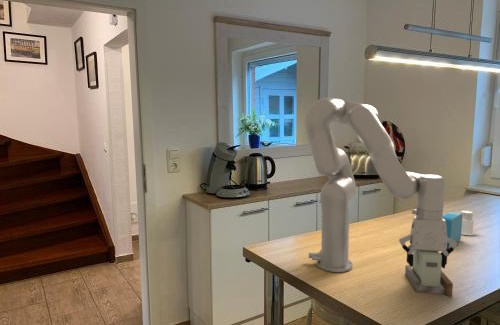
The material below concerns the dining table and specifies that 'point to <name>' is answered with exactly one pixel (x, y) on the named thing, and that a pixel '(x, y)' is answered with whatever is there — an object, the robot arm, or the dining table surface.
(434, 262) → the slotted sage box
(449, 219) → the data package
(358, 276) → the dining table surface
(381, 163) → the robot arm
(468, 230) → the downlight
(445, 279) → the board
